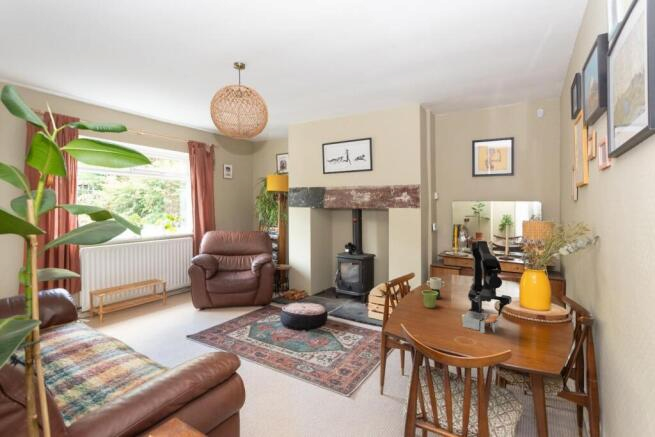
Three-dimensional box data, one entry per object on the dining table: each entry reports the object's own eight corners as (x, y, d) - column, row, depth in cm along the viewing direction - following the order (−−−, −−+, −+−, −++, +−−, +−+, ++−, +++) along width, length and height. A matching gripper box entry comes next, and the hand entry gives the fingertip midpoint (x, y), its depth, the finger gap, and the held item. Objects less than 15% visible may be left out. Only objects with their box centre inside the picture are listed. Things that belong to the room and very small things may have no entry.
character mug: (443, 297, 217) (444, 277, 217) (444, 300, 211) (444, 280, 210) (426, 295, 220) (426, 276, 220) (426, 299, 214) (426, 279, 213)
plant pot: (427, 309, 194) (427, 295, 193) (418, 304, 203) (418, 291, 202) (441, 308, 196) (441, 293, 196) (432, 303, 205) (432, 289, 205)
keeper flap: (489, 316, 170) (488, 314, 170) (499, 315, 166) (499, 313, 166) (482, 323, 161) (481, 321, 161) (493, 322, 157) (492, 320, 158)
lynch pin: (464, 320, 175) (464, 312, 174) (491, 327, 166) (491, 318, 166) (461, 323, 171) (461, 315, 171) (488, 329, 163) (488, 321, 162)
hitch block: (470, 319, 177) (470, 309, 177) (500, 326, 168) (500, 315, 167) (461, 327, 166) (461, 317, 166) (492, 335, 157) (492, 324, 157)
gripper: (464, 283, 163) (464, 314, 164) (506, 289, 151) (505, 323, 152) (472, 278, 171) (471, 308, 172) (512, 284, 159) (511, 316, 160)
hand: (489, 313), depth 164 cm, fingers open, 9 cm apart
